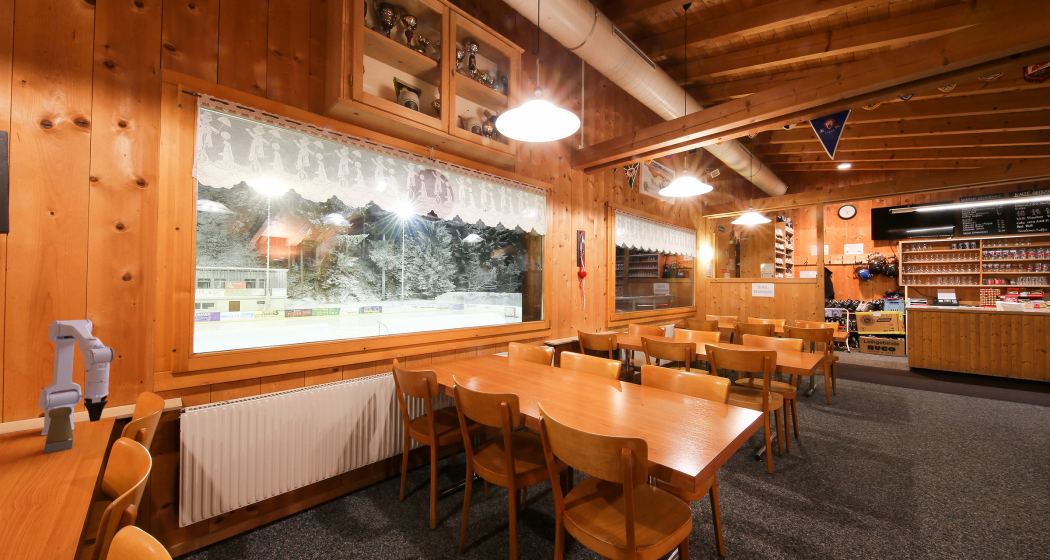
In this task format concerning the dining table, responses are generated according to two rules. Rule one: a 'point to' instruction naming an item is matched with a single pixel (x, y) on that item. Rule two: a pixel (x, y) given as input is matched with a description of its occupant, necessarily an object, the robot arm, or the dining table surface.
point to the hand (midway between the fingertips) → (94, 418)
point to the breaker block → (58, 445)
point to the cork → (59, 425)
